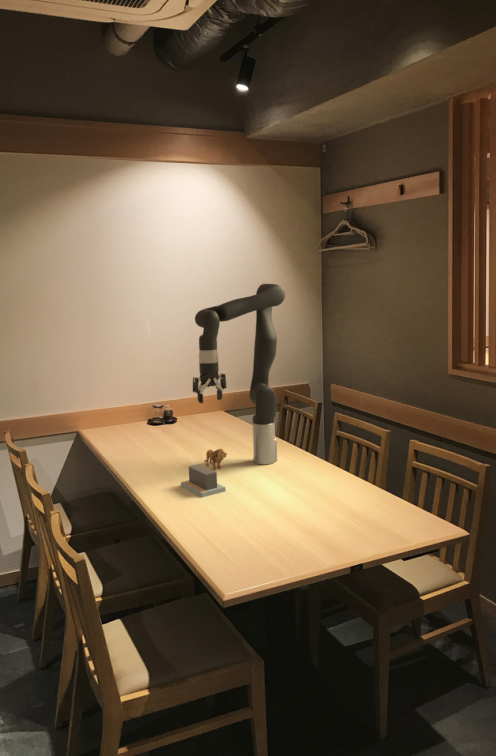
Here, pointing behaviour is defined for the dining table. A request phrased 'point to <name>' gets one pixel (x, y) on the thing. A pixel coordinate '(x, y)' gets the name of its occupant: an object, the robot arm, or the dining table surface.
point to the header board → (202, 491)
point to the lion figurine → (215, 457)
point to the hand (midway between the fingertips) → (210, 401)
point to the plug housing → (203, 477)
